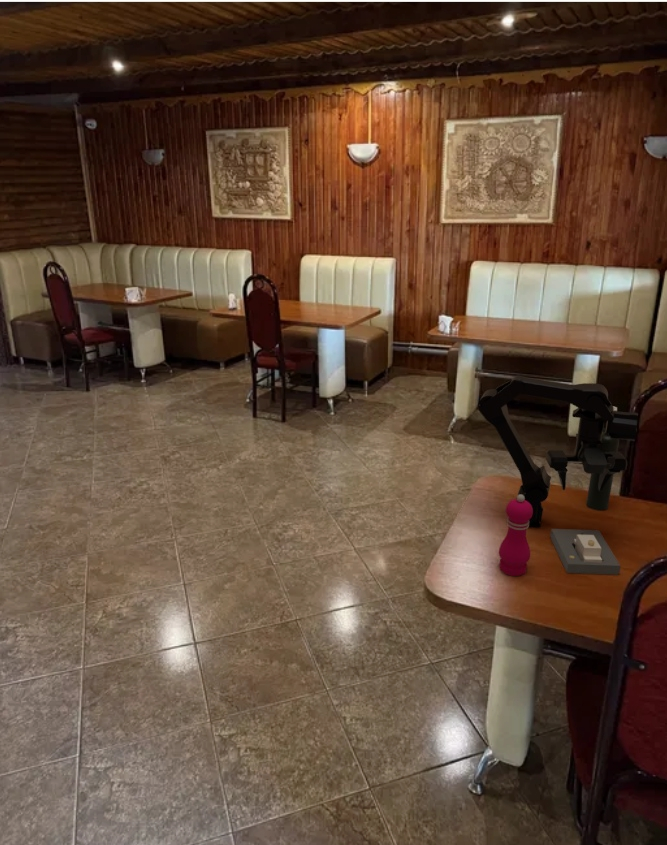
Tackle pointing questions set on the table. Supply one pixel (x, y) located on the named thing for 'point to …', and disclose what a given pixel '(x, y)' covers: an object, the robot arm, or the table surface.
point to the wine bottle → (596, 497)
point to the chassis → (570, 559)
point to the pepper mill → (516, 538)
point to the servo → (588, 548)
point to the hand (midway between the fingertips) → (581, 489)
